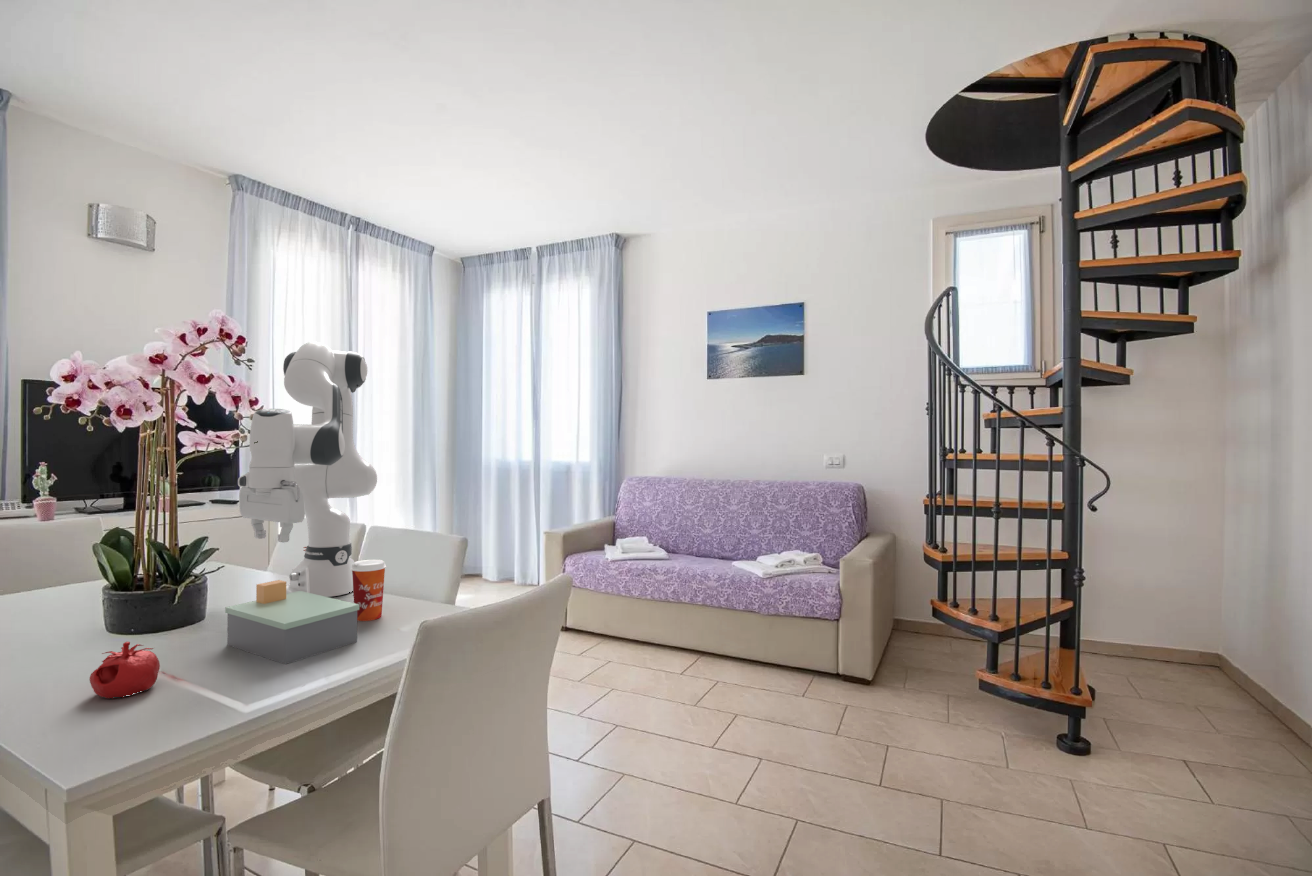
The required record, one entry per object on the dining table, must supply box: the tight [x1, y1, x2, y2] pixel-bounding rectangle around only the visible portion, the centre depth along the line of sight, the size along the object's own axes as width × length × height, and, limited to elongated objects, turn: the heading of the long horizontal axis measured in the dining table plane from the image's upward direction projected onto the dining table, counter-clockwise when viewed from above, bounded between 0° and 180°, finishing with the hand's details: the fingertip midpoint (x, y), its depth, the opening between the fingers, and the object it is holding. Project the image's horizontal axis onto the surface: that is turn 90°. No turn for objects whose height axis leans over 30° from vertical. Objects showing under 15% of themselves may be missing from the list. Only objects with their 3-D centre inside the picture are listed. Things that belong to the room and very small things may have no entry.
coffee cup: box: [351, 559, 387, 622], centre depth 158 cm, size 8×8×15 cm
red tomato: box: [89, 641, 161, 699], centre depth 115 cm, size 10×10×9 cm
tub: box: [226, 611, 358, 665], centre depth 138 cm, size 22×16×8 cm
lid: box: [224, 579, 359, 630], centre depth 138 cm, size 23×17×5 cm
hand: (271, 540), depth 142 cm, fingers open, 8 cm apart
